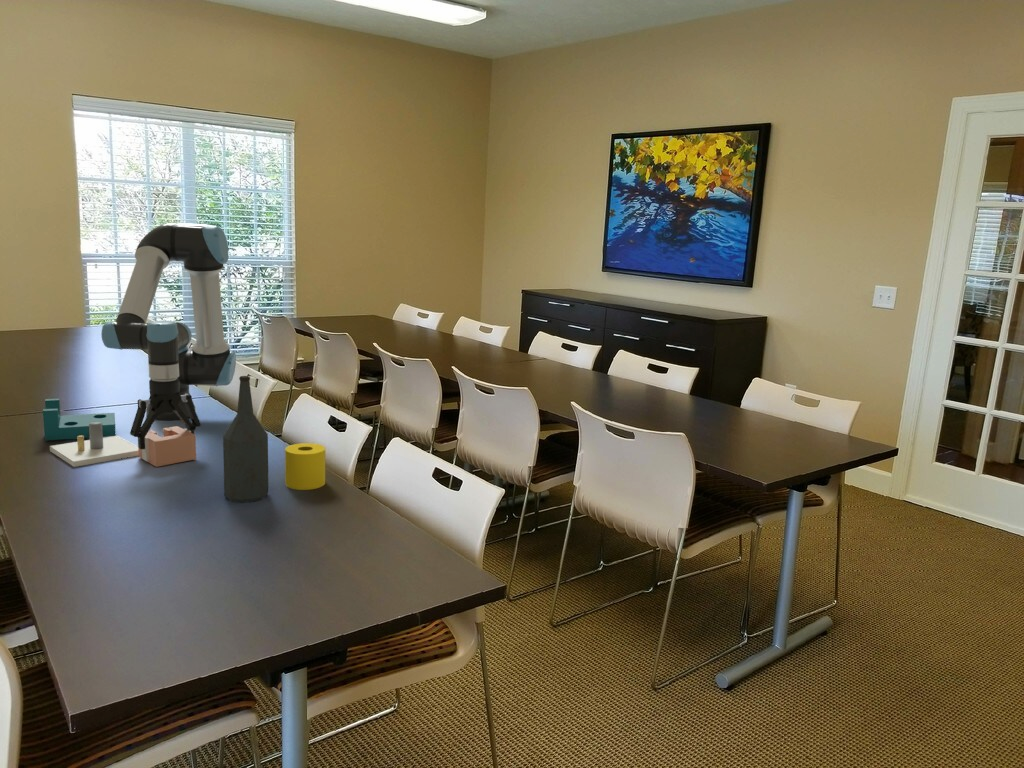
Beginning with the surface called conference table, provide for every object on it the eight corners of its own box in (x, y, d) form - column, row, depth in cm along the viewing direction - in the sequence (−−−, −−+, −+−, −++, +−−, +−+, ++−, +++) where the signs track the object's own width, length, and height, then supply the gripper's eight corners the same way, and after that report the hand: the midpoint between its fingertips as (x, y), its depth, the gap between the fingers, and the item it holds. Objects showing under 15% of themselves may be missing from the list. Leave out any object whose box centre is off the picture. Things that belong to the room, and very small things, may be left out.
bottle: (227, 505, 182) (224, 381, 176) (221, 491, 190) (219, 373, 184) (272, 499, 186) (270, 379, 180) (264, 487, 195) (263, 371, 189)
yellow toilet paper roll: (332, 480, 202) (332, 446, 201) (310, 492, 193) (311, 456, 191) (300, 475, 206) (300, 441, 204) (277, 486, 196) (277, 450, 194)
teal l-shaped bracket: (45, 445, 221) (42, 410, 218) (47, 432, 230) (45, 399, 227) (115, 440, 229) (113, 407, 226) (115, 428, 238) (113, 396, 235)
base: (117, 440, 227) (116, 412, 225) (143, 454, 215) (142, 425, 213) (50, 451, 213) (48, 421, 212) (74, 466, 202) (72, 435, 200)
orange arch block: (196, 459, 213) (195, 434, 211) (156, 466, 205) (155, 441, 203) (178, 449, 220) (177, 426, 218) (138, 456, 212) (137, 432, 210)
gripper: (199, 371, 219) (201, 445, 223) (113, 381, 201) (117, 460, 206) (212, 376, 214) (214, 451, 218) (125, 386, 197) (129, 467, 201)
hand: (167, 455), depth 212 cm, fingers closed on orange arch block, 11 cm apart
